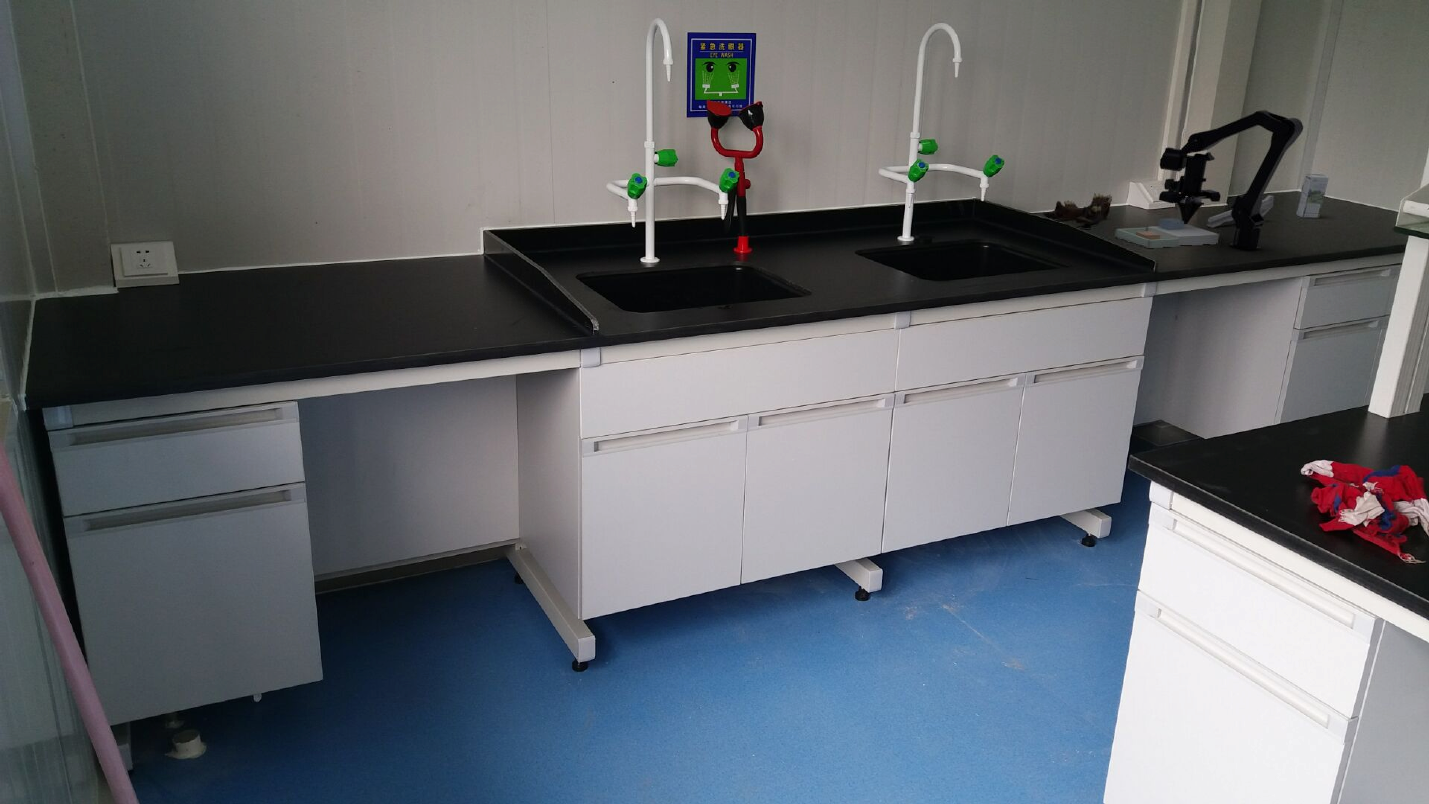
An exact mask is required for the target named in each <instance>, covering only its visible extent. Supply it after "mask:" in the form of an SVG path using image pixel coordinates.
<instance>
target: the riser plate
mask: <svg viewBox="0 0 1429 804" xmlns="http://www.w3.org/2000/svg"><path fill="white" fill-rule="evenodd" d="M1147 231H1151V232H1154V233H1157V234H1160V239H1176V238H1178V239H1179V244H1178V245H1179V246H1178V247H1181V246H1180V245H1192V246H1204V245H1203V244H1210V245H1217V244H1218V241H1219V237H1220V234H1219V233H1216V232H1212V231H1210V230H1206V229H1203V228H1200V227H1196V226H1193V225H1190V224H1184V225H1183V229H1180V230H1168V229H1165V228H1161V227H1159V225H1154V226H1153V225H1152V226H1148V227H1147ZM1216 243H1217V244H1216Z"/></svg>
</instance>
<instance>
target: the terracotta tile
mask: <svg viewBox="0 0 1429 804" xmlns="http://www.w3.org/2000/svg"><path fill="white" fill-rule="evenodd" d="M1136 235H1137V236H1140V237H1143V238H1146V239H1149V240H1157V239H1160V234H1157V233H1154V232H1151V231H1148V230H1146V231H1143V232H1136Z"/></svg>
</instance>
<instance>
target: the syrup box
mask: <svg viewBox="0 0 1429 804" xmlns="http://www.w3.org/2000/svg"><path fill="white" fill-rule="evenodd" d="M1329 178H1330V177H1328V176H1327V175H1326V174H1323V173H1322V174H1321V173H1320V174H1319V173H1305V174H1304V179H1303V183H1302V186H1301V191H1300V195H1299V200H1298V203H1297V207H1296V213H1295V214H1296V216H1298V217H1300V218H1305V219H1319V218H1320V215H1321V212H1322V207H1323V204H1324V198H1325V194H1326V191H1327V188H1328V183H1329V180H1330V179H1329Z"/></svg>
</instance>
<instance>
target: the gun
mask: <svg viewBox="0 0 1429 804" xmlns="http://www.w3.org/2000/svg"><path fill="white" fill-rule="evenodd" d="M1274 198H1275V196H1273V195H1267V196H1266V197H1265V198H1264V199H1262V205H1261V208H1260V211H1259V213H1260V214H1261V215H1262V217H1263V218H1264V216H1265V215H1266V214H1267V213H1268V212H1269V210H1271V209H1272V208H1273V207H1274ZM1231 211H1232V209H1231V210H1227V211H1225V212H1222V213H1219V214H1216V215H1214V216H1209V218H1208V219H1207V224H1206V226H1208V228H1209V227H1210V228H1212V229H1213V228H1215V227H1218V226H1221V224H1223V223H1226V222H1228V223H1230V222H1231V221H1234V219H1233V218H1232V215H1231Z"/></svg>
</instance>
